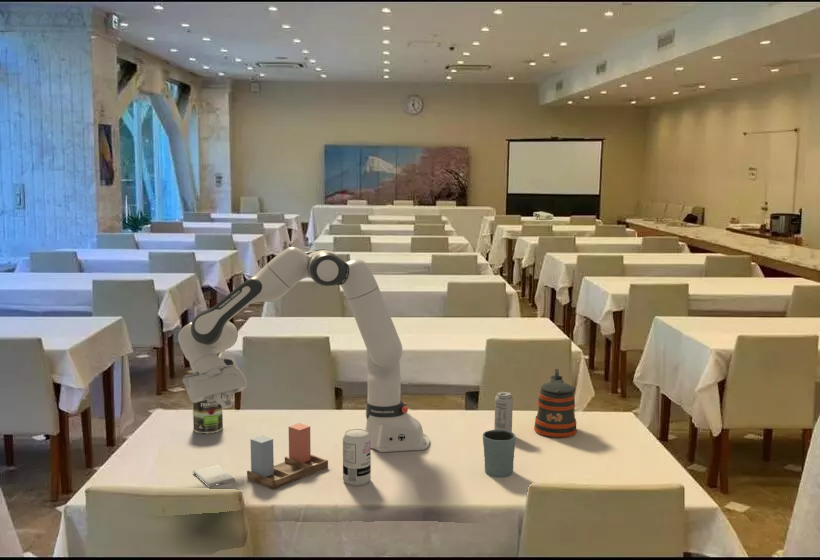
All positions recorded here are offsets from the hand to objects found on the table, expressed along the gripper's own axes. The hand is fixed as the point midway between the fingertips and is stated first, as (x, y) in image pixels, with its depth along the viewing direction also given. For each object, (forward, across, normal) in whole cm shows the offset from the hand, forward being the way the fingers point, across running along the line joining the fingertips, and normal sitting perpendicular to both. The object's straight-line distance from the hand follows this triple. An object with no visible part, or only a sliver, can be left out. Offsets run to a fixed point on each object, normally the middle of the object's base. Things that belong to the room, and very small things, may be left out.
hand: (228, 406), depth 262 cm
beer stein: (+54, +97, -30) cm, 115 cm away
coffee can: (-9, +16, +36) cm, 40 cm away
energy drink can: (+47, +79, -23) cm, 95 cm away
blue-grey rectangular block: (+24, 0, 0) cm, 24 cm away
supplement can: (+41, +17, -15) cm, 47 cm away
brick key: (+24, +15, 0) cm, 28 cm away
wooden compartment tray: (+26, +7, 0) cm, 27 cm away
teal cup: (+60, +51, -35) cm, 86 cm away
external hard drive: (+17, -9, +10) cm, 22 cm away
